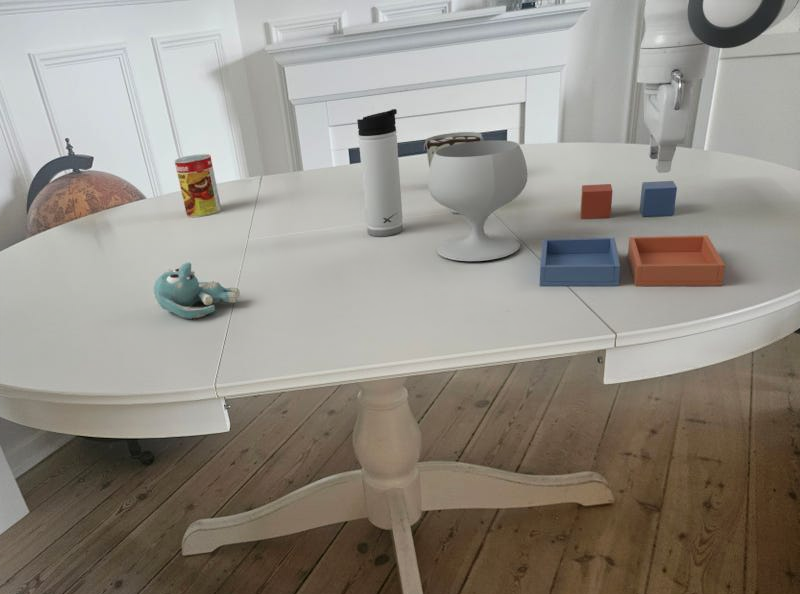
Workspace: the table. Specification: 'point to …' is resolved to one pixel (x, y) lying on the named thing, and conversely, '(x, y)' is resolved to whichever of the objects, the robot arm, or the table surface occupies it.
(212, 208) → the canned food
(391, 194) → the travel mug
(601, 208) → the rust block
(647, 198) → the slate block
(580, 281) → the slate tray
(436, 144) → the food container
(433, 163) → the chalice
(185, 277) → the stuffed animal
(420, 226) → the table surface
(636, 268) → the rust tray
